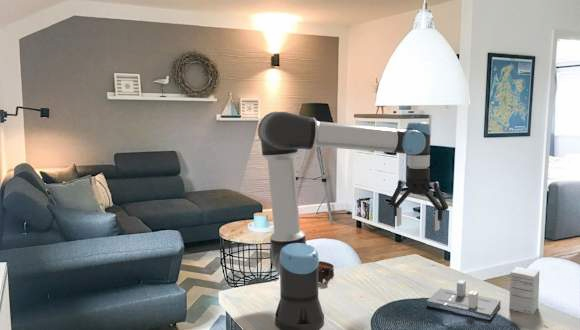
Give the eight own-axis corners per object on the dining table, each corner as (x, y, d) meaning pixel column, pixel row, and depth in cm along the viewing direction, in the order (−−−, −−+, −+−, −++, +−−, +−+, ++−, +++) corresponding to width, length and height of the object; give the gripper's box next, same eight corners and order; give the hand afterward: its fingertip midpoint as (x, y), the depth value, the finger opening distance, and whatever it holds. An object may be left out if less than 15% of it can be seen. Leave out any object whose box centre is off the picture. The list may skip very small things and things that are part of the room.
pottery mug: (304, 280, 188) (309, 259, 191) (323, 287, 192) (327, 267, 195) (321, 281, 178) (326, 259, 181) (341, 288, 182) (346, 267, 185)
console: (489, 321, 148) (490, 315, 148) (426, 307, 159) (426, 301, 159) (500, 305, 160) (500, 299, 160) (440, 293, 172) (440, 287, 171)
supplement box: (514, 302, 163) (516, 266, 162) (538, 307, 158) (540, 270, 157) (508, 309, 157) (509, 271, 156) (533, 315, 153) (534, 276, 151)
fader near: (474, 308, 152) (475, 294, 152) (468, 307, 153) (468, 293, 153) (477, 305, 155) (478, 291, 154) (471, 303, 156) (471, 290, 156)
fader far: (462, 296, 162) (462, 283, 162) (456, 295, 163) (456, 282, 163) (465, 293, 165) (465, 280, 164) (459, 292, 166) (459, 279, 166)
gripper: (458, 167, 163) (457, 229, 165) (388, 164, 176) (387, 221, 178) (452, 170, 156) (451, 234, 158) (380, 166, 170) (379, 225, 172)
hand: (417, 227), depth 168 cm, fingers open, 13 cm apart
